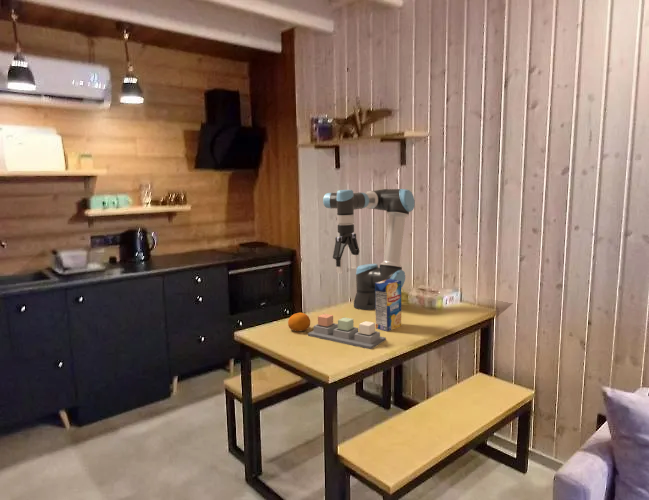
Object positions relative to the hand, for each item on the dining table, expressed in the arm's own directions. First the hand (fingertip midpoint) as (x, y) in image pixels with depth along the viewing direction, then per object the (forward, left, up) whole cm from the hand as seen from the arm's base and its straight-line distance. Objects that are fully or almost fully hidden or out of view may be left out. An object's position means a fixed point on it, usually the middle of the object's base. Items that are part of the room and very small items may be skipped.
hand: (346, 271), depth 225 cm
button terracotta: (+11, -5, -23) cm, 26 cm away
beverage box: (-12, +15, -28) cm, 34 cm away
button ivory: (+11, +17, -23) cm, 31 cm away
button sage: (+11, +6, -23) cm, 27 cm away
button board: (+11, +6, -28) cm, 31 cm away
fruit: (+13, -19, -28) cm, 36 cm away
